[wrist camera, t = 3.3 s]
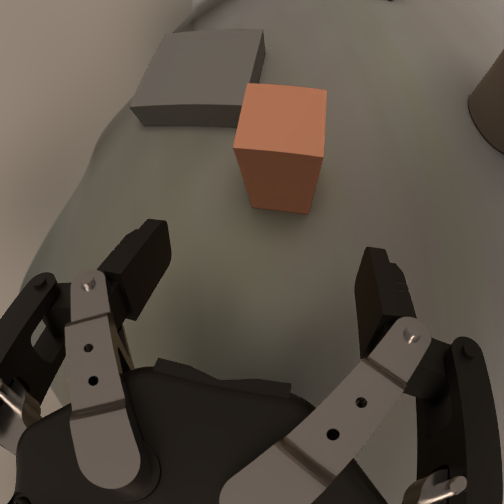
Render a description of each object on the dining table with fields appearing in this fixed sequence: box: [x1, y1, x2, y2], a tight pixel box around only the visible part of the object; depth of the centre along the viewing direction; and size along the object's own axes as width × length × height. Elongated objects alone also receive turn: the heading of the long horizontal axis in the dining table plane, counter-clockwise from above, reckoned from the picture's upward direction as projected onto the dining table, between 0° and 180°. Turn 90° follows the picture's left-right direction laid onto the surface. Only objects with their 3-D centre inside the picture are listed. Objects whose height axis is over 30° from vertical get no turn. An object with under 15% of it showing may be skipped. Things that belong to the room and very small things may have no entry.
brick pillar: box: [233, 83, 327, 214], centre depth 20 cm, size 5×5×10 cm
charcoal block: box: [129, 29, 265, 128], centre depth 26 cm, size 11×11×4 cm
